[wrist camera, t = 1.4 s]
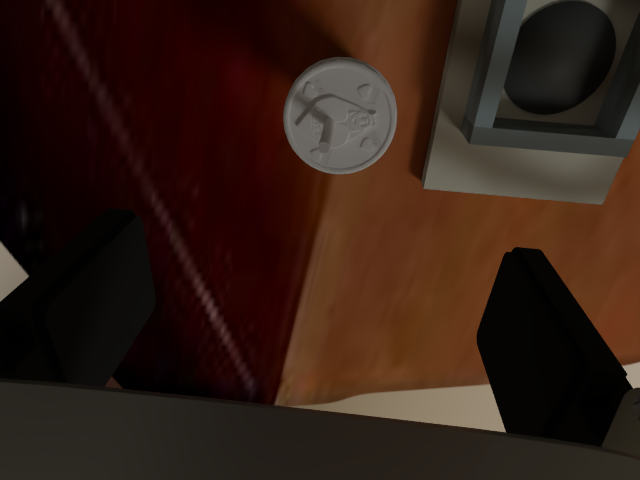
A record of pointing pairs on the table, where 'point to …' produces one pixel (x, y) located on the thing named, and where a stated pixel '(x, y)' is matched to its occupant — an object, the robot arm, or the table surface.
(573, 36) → the holder
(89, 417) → the robot arm
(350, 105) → the smoothie
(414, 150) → the table surface
